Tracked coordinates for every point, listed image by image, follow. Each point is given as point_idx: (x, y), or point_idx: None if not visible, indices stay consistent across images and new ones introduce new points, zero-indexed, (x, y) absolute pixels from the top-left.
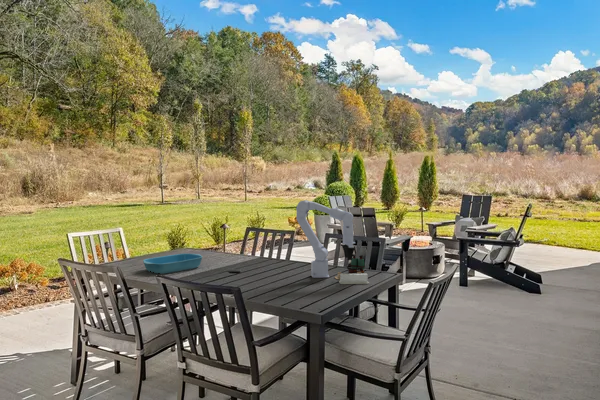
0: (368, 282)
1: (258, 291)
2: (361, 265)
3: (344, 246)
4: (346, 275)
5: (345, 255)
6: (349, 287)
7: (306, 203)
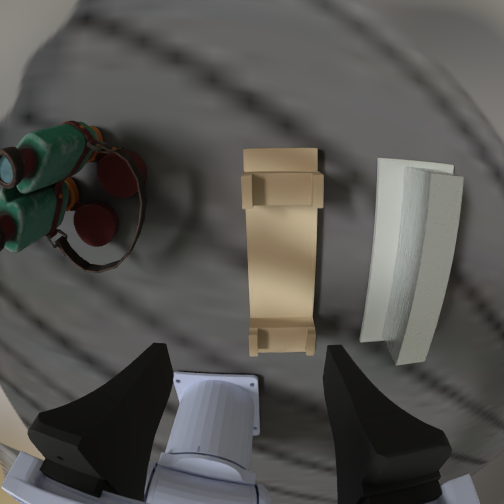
0: (444, 166)
1: None
2: (79, 152)
3: (133, 489)
4: (432, 329)
5: (166, 393)
6: (488, 296)
7: None
